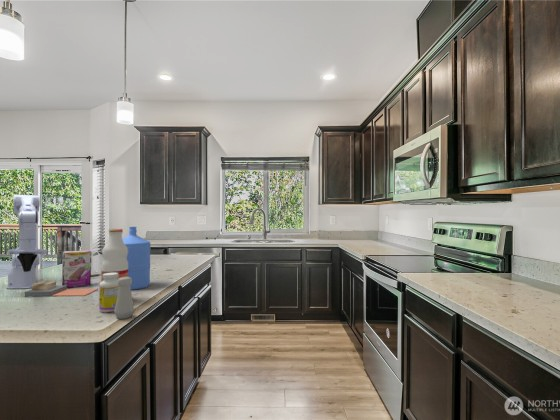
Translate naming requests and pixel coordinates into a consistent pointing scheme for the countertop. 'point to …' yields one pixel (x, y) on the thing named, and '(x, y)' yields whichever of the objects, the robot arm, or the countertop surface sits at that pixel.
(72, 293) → the mat
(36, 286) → the oak tile
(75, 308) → the countertop surface
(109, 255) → the fruit juice
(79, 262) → the candy bar box
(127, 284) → the salt shaker
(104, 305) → the supplement bottle
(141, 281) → the water jug
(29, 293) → the grey square tile
